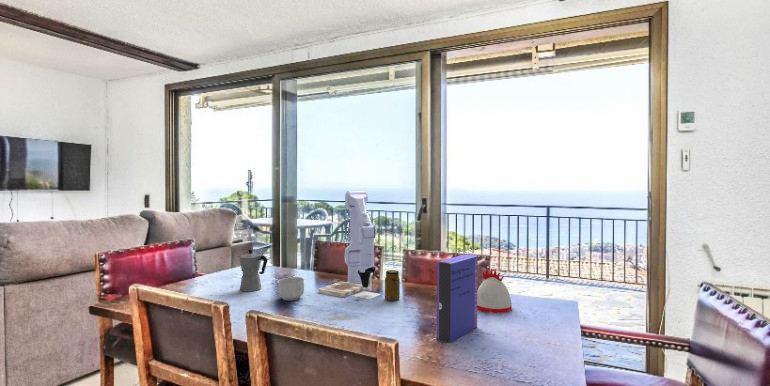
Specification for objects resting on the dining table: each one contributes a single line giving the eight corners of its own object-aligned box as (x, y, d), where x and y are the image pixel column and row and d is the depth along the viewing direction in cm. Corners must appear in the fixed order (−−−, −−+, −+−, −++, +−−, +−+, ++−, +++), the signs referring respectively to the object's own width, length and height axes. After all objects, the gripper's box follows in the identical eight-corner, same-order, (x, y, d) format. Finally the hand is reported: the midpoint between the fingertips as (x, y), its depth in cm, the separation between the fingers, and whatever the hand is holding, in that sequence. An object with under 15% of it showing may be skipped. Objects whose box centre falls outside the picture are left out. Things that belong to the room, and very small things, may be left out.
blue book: (464, 324, 140) (464, 253, 140) (477, 327, 137) (477, 255, 136) (436, 339, 127) (437, 261, 126) (450, 343, 124) (450, 263, 123)
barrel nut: (365, 287, 178) (365, 271, 178) (374, 289, 176) (374, 272, 175) (358, 290, 174) (359, 273, 174) (368, 291, 171) (368, 274, 171)
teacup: (300, 302, 165) (300, 282, 165) (273, 302, 165) (273, 282, 165) (308, 293, 179) (308, 275, 179) (283, 293, 179) (283, 274, 179)
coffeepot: (231, 290, 183) (231, 250, 183) (245, 285, 192) (245, 247, 191) (260, 293, 178) (260, 252, 177) (273, 288, 187) (273, 249, 186)
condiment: (393, 297, 173) (393, 268, 173) (406, 301, 167) (407, 272, 167) (379, 300, 169) (379, 271, 169) (393, 304, 162) (393, 274, 162)
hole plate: (341, 285, 192) (341, 281, 192) (366, 289, 185) (366, 285, 185) (318, 293, 179) (318, 288, 179) (344, 298, 171) (344, 293, 171)
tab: (364, 292, 181) (364, 291, 181) (381, 295, 176) (381, 294, 176) (352, 296, 173) (352, 295, 173) (369, 300, 169) (369, 299, 169)
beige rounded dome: (481, 300, 169) (481, 264, 168) (515, 305, 162) (515, 267, 161) (469, 309, 157) (469, 270, 156) (506, 315, 150) (506, 274, 149)
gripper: (362, 250, 182) (362, 281, 183) (352, 256, 168) (352, 289, 169) (378, 251, 181) (378, 282, 181) (369, 257, 167) (369, 290, 167)
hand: (366, 285), depth 175 cm, fingers closed on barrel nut, 5 cm apart
